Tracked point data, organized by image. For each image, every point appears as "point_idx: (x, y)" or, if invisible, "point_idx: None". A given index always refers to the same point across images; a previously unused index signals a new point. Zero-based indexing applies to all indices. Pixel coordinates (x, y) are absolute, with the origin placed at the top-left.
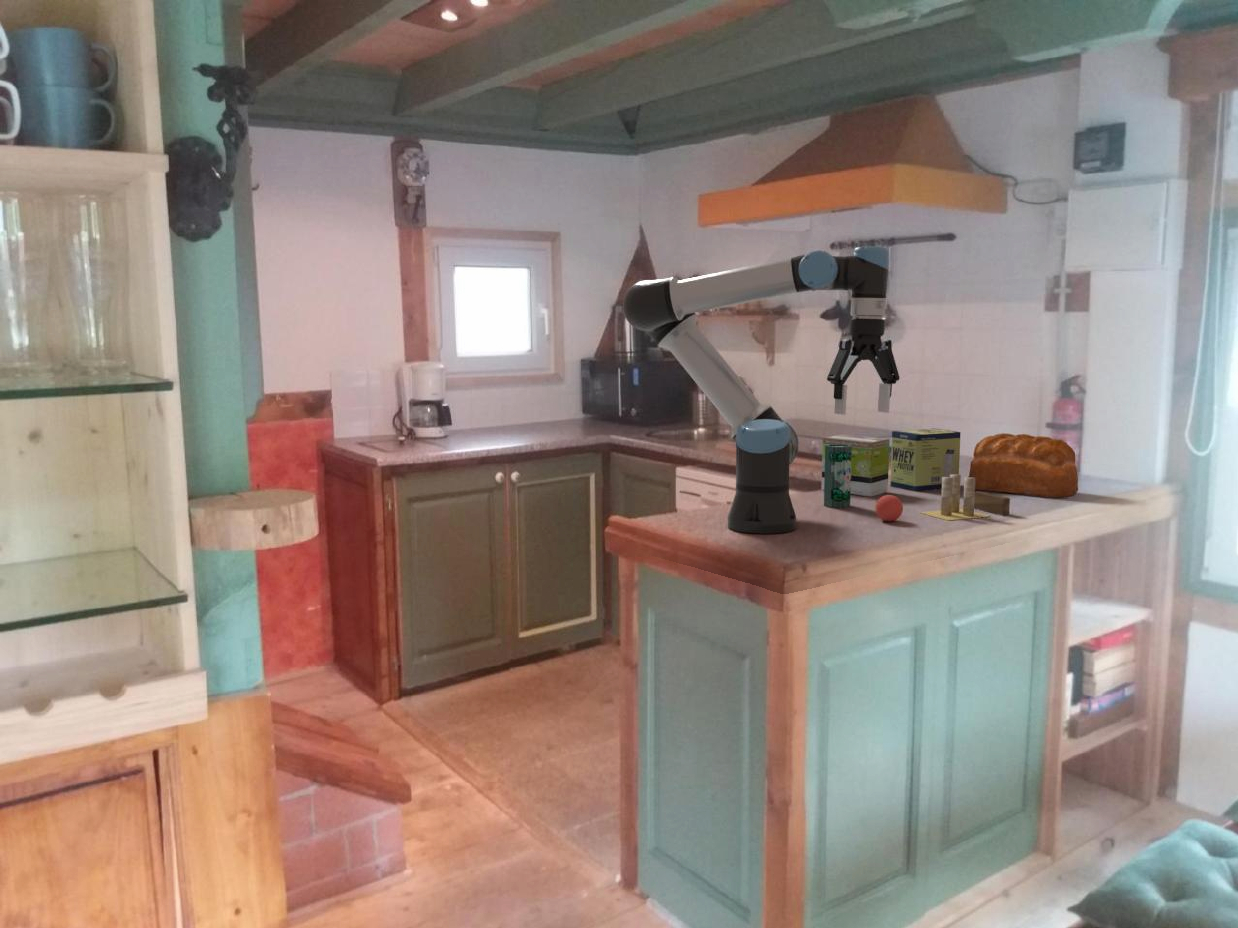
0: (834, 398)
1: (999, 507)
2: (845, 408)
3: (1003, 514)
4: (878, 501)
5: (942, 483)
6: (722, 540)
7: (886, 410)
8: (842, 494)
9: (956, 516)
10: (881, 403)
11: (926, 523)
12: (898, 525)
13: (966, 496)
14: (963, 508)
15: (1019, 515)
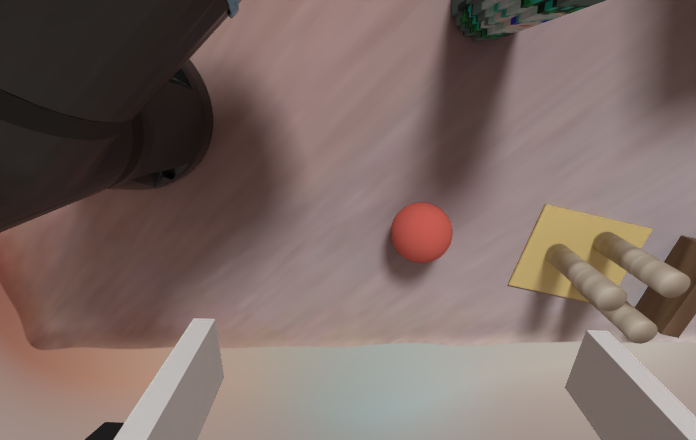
0: (103, 427)
1: (649, 313)
2: (205, 409)
3: None
4: (401, 226)
5: (591, 285)
6: None
7: (573, 397)
8: (484, 30)
9: (553, 274)
10: (618, 399)
11: (453, 275)
12: (395, 258)
13: (597, 306)
14: None
15: None
